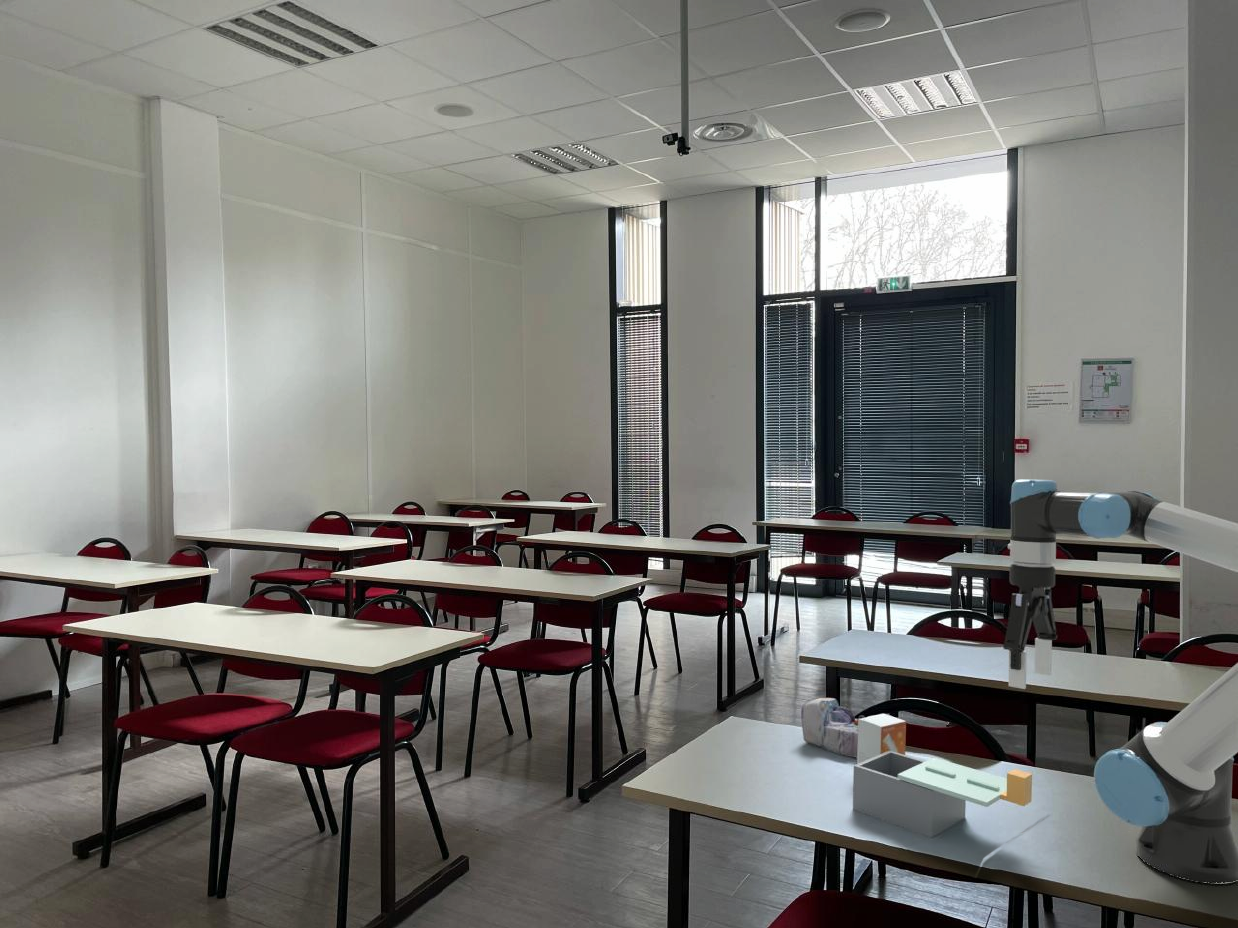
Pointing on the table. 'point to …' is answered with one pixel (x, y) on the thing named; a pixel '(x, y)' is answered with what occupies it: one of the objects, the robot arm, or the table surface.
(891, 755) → the tub
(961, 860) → the table surface
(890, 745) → the small box
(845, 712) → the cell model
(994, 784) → the lid
